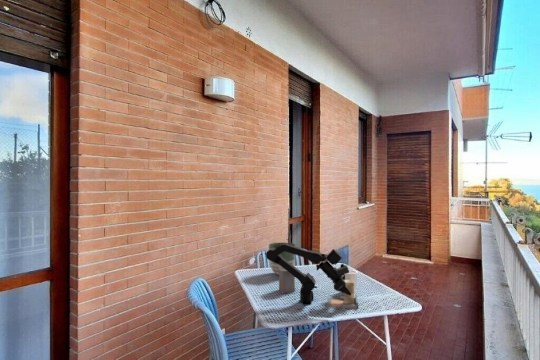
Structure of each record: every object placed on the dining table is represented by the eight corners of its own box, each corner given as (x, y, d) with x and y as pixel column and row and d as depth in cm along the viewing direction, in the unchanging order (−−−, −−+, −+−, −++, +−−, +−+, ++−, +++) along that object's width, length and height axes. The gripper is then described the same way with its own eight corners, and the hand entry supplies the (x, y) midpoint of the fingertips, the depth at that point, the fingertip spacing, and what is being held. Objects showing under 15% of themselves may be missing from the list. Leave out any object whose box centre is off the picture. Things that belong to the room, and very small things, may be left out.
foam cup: (347, 289, 198) (347, 268, 198) (360, 293, 191) (360, 271, 192) (338, 293, 191) (338, 271, 192) (352, 297, 185) (352, 274, 185)
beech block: (344, 305, 170) (344, 282, 170) (344, 301, 175) (344, 279, 175) (354, 305, 169) (353, 283, 169) (353, 302, 174) (353, 280, 174)
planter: (270, 270, 243) (270, 242, 243) (296, 271, 240) (296, 242, 241) (267, 277, 224) (266, 247, 224) (294, 278, 221) (294, 247, 221)
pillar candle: (284, 287, 204) (284, 263, 204) (297, 290, 198) (297, 265, 198) (276, 291, 196) (275, 267, 196) (289, 294, 190) (289, 269, 190)
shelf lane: (327, 308, 169) (326, 300, 169) (327, 300, 180) (327, 293, 181) (358, 310, 165) (358, 302, 165) (357, 302, 177) (357, 294, 177)
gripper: (340, 264, 164) (362, 287, 162) (340, 256, 183) (360, 277, 180) (324, 279, 166) (346, 302, 163) (326, 269, 184) (346, 290, 182)
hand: (350, 292), depth 172 cm, fingers open, 9 cm apart
